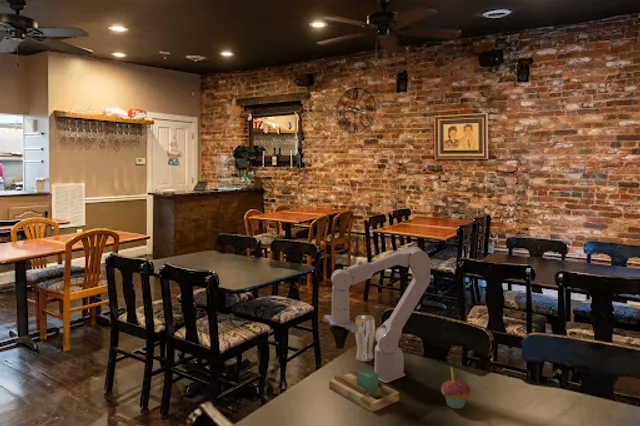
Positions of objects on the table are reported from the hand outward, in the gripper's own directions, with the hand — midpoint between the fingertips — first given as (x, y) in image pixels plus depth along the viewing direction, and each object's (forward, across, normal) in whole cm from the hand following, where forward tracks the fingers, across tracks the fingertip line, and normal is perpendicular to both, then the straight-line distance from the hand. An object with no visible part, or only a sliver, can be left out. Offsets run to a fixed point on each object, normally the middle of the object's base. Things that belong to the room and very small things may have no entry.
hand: (340, 347), depth 166 cm
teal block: (+7, +15, -3) cm, 17 cm away
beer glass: (+10, -6, +17) cm, 21 cm away
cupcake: (+10, +35, +14) cm, 39 cm away
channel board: (+10, +14, -2) cm, 17 cm away
